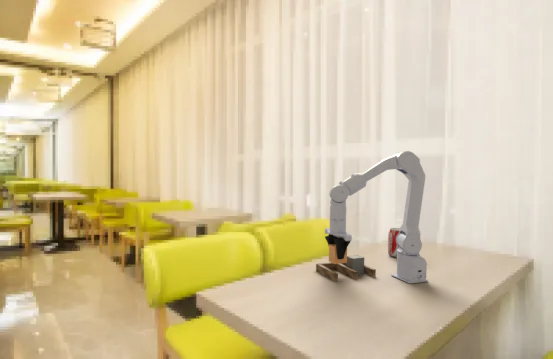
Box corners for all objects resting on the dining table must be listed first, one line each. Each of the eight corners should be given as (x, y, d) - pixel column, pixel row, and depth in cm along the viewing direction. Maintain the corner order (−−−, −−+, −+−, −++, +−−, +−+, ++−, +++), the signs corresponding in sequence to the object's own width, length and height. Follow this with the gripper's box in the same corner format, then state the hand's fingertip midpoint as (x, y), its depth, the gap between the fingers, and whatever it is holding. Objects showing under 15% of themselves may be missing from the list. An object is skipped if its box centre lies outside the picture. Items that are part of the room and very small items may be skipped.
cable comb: (375, 276, 117) (375, 269, 117) (334, 281, 111) (335, 274, 111) (353, 266, 129) (353, 260, 129) (316, 270, 123) (316, 263, 123)
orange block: (346, 262, 117) (347, 246, 117) (334, 264, 116) (335, 246, 115) (340, 260, 121) (341, 243, 121) (328, 261, 119) (329, 244, 119)
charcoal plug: (364, 274, 120) (364, 257, 120) (352, 275, 118) (352, 258, 118) (357, 270, 124) (357, 254, 124) (346, 272, 122) (346, 255, 122)
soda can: (402, 259, 142) (402, 231, 142) (385, 256, 146) (386, 229, 146) (406, 255, 148) (407, 229, 147) (390, 253, 152) (391, 227, 152)
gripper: (318, 216, 123) (317, 253, 123) (339, 222, 110) (338, 263, 110) (334, 216, 126) (333, 251, 126) (357, 221, 112) (356, 261, 113)
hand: (337, 257), depth 118 cm, fingers closed on orange block, 4 cm apart
